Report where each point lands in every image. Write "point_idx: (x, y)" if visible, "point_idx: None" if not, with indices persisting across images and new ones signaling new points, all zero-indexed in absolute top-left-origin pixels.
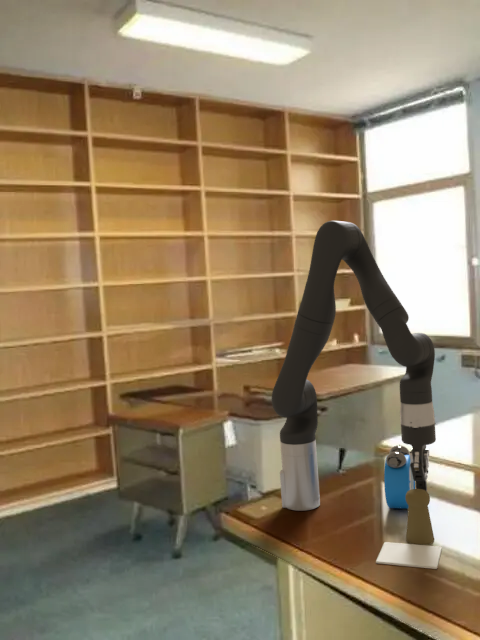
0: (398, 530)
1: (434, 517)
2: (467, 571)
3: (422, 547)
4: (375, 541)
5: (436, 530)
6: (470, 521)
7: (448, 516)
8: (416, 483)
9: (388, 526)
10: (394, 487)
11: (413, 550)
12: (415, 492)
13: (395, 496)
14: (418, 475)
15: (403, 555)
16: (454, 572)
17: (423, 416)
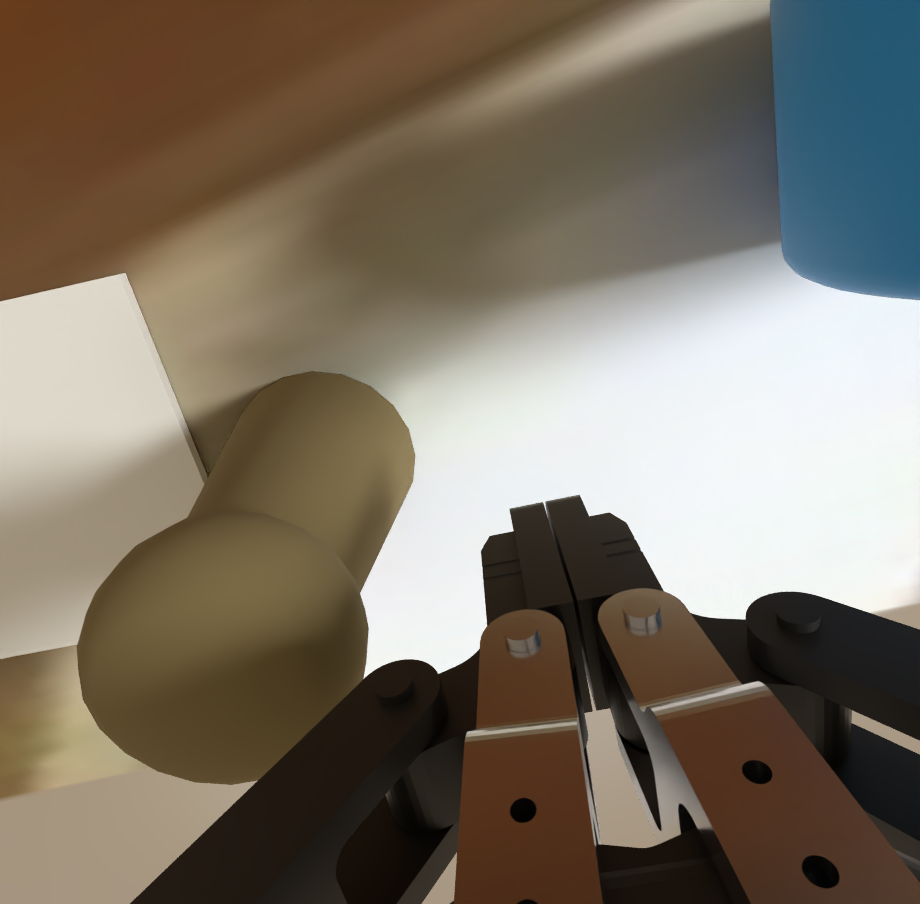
0: (405, 270)
1: (741, 421)
2: (80, 757)
3: None
4: (122, 186)
5: (511, 501)
6: None
7: (782, 496)
8: (528, 593)
9: (450, 160)
10: (837, 93)
11: (111, 494)
12: (123, 715)
13: (781, 113)
14: (410, 788)
15: (4, 468)
16: (32, 719)
17: None
